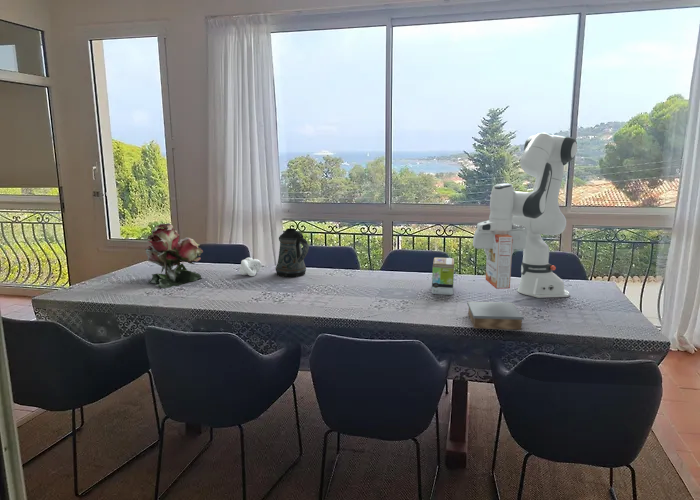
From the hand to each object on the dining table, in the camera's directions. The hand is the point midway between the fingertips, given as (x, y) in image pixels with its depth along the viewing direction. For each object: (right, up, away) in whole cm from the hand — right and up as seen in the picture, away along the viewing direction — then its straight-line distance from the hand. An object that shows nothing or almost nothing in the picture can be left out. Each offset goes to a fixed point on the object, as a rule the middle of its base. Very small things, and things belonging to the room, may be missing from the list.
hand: (498, 259), depth 196 cm
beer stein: (-90, -10, +72) cm, 116 cm away
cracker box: (0, -10, +2) cm, 10 cm away
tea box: (-15, -16, +39) cm, 45 cm away
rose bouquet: (-152, -12, +62) cm, 165 cm away
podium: (-3, -24, -4) cm, 24 cm away
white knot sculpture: (-114, -10, +72) cm, 135 cm away
